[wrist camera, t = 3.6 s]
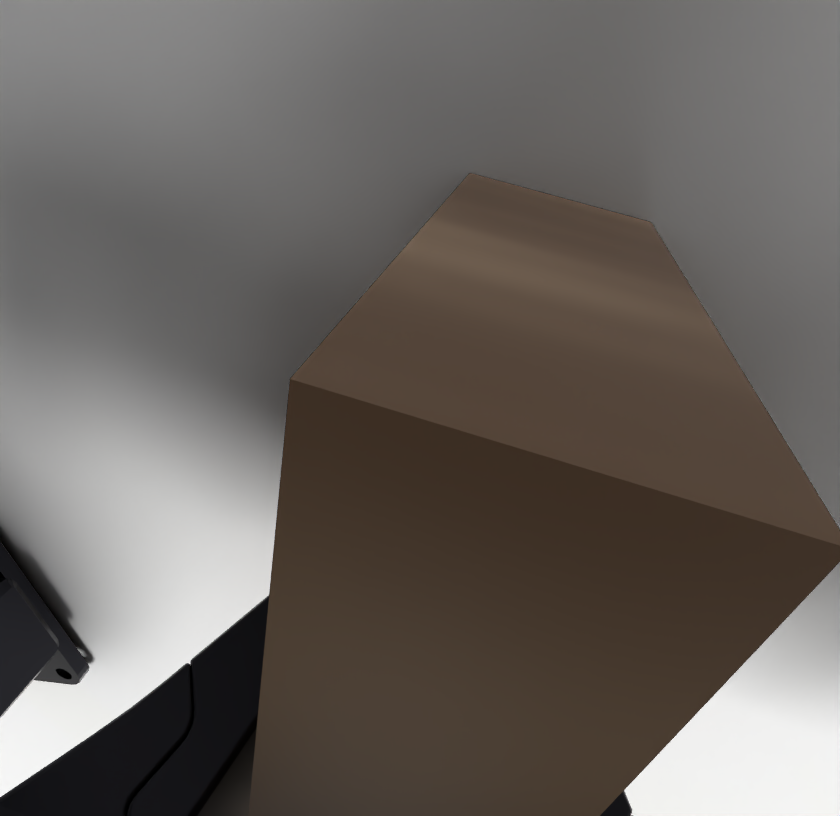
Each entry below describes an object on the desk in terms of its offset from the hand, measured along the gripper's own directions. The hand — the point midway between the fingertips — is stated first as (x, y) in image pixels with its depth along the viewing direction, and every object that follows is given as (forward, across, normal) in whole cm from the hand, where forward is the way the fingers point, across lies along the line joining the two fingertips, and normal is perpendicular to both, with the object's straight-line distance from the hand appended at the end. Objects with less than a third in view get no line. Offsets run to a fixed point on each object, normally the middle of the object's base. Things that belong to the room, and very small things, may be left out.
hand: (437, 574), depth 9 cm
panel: (+2, 0, 0) cm, 2 cm away
